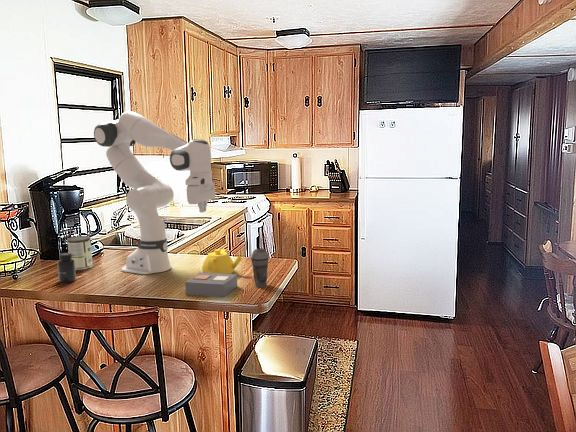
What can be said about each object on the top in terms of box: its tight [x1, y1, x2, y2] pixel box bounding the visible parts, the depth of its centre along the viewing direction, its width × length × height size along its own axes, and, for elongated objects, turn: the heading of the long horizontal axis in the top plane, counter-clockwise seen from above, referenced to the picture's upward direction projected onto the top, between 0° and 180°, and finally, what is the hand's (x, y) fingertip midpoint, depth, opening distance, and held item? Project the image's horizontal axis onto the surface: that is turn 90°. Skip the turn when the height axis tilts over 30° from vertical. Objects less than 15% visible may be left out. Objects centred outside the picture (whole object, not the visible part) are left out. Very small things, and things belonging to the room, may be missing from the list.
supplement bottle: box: [57, 252, 77, 284], centre depth 225 cm, size 7×7×12 cm
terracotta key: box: [194, 275, 211, 280], centre depth 209 cm, size 5×5×2 cm
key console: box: [184, 272, 238, 298], centre depth 208 cm, size 16×14×5 cm
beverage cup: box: [250, 236, 270, 288], centre depth 212 cm, size 7×7×20 cm
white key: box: [213, 276, 229, 281], centre depth 207 cm, size 5×5×2 cm
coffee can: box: [66, 235, 94, 271], centre depth 247 cm, size 10×10×14 cm
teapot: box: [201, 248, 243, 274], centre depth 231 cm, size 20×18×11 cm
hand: (202, 211), depth 219 cm, fingers closed
